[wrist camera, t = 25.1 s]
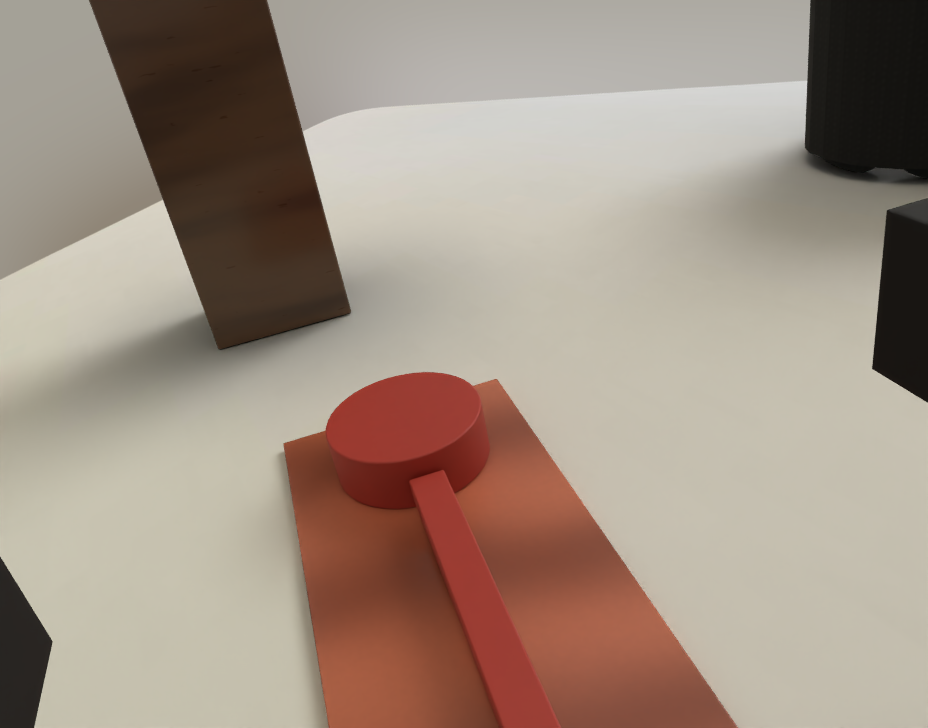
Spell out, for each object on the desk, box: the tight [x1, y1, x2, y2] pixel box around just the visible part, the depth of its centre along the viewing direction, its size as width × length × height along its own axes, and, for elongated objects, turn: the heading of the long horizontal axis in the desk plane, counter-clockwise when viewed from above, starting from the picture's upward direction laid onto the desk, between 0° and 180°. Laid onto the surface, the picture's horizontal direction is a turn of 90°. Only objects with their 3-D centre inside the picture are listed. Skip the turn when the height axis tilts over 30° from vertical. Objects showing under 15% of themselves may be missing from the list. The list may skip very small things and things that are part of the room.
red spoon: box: [326, 372, 561, 728], centre depth 22 cm, size 22×6×2 cm, turn 16°
